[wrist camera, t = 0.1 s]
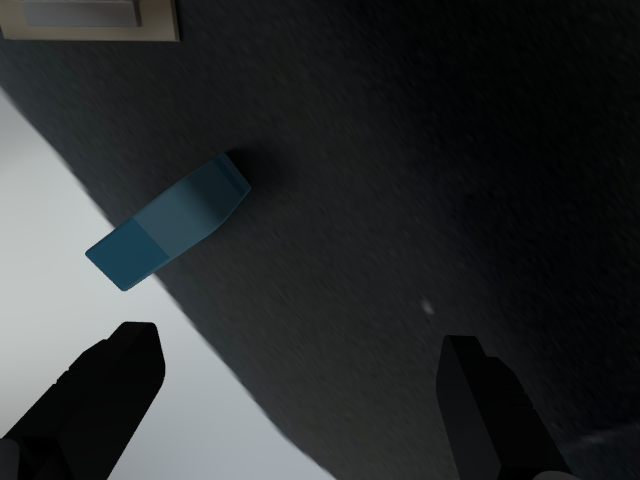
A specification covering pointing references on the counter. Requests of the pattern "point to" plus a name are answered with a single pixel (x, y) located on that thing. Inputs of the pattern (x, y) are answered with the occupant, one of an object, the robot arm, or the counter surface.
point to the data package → (170, 223)
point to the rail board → (89, 20)
